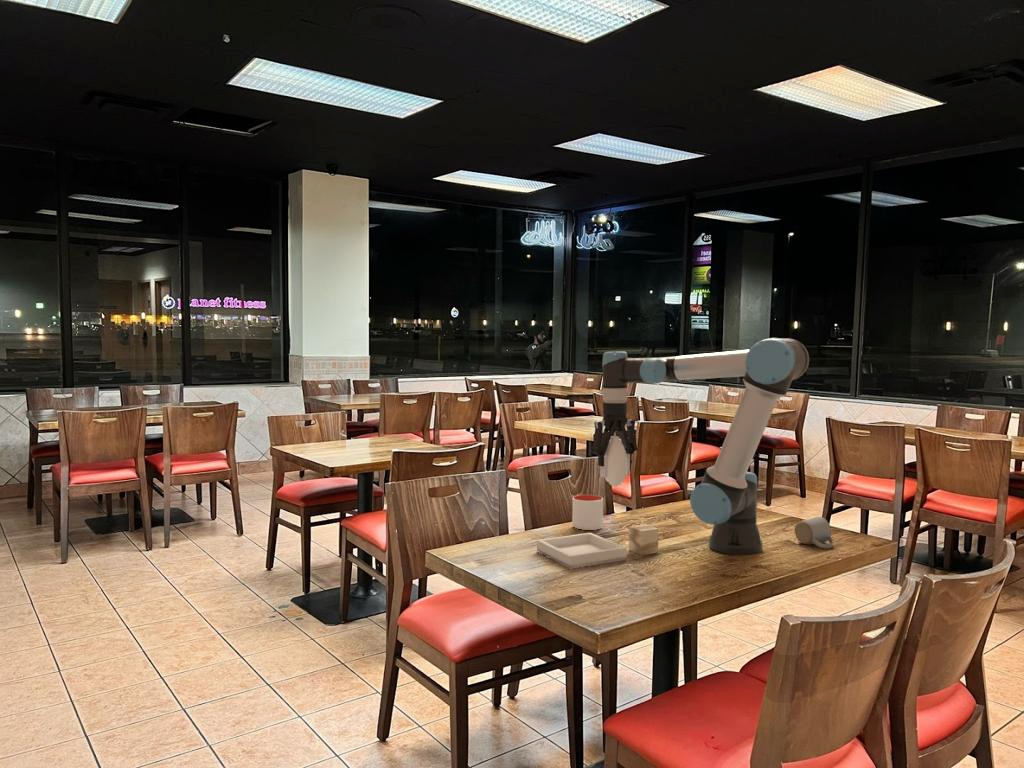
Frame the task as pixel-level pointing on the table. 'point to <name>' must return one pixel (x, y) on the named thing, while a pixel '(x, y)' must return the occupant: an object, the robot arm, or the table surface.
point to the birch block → (643, 539)
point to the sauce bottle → (616, 461)
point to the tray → (581, 550)
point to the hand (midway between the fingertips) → (615, 475)
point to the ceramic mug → (814, 532)
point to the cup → (587, 512)
